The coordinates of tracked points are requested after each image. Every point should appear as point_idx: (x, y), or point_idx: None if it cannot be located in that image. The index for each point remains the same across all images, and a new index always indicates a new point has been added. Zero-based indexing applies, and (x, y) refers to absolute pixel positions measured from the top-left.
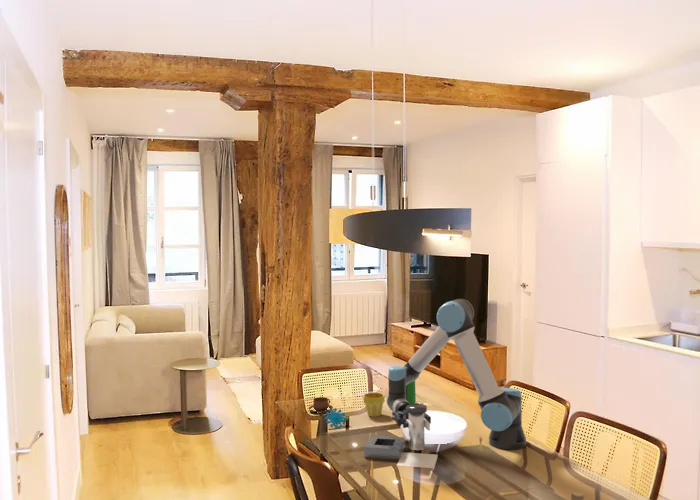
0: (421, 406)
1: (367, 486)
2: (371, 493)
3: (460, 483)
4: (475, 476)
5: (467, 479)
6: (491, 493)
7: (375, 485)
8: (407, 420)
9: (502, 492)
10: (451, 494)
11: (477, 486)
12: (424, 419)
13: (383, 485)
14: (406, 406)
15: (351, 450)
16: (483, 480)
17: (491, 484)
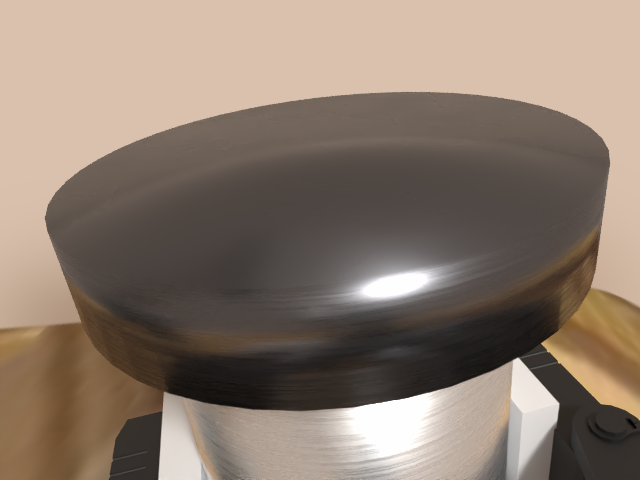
0: (190, 169)
1: (633, 333)
2: None
3: (155, 390)
4: (21, 470)
5: (93, 432)
6: (74, 328)
7: (596, 344)
8: (517, 363)
9: (25, 337)
10: None
11: (91, 370)
12: (188, 433)
13: (553, 346)
14: (576, 128)
15: None
16: (16, 426)
17: (12, 391)
